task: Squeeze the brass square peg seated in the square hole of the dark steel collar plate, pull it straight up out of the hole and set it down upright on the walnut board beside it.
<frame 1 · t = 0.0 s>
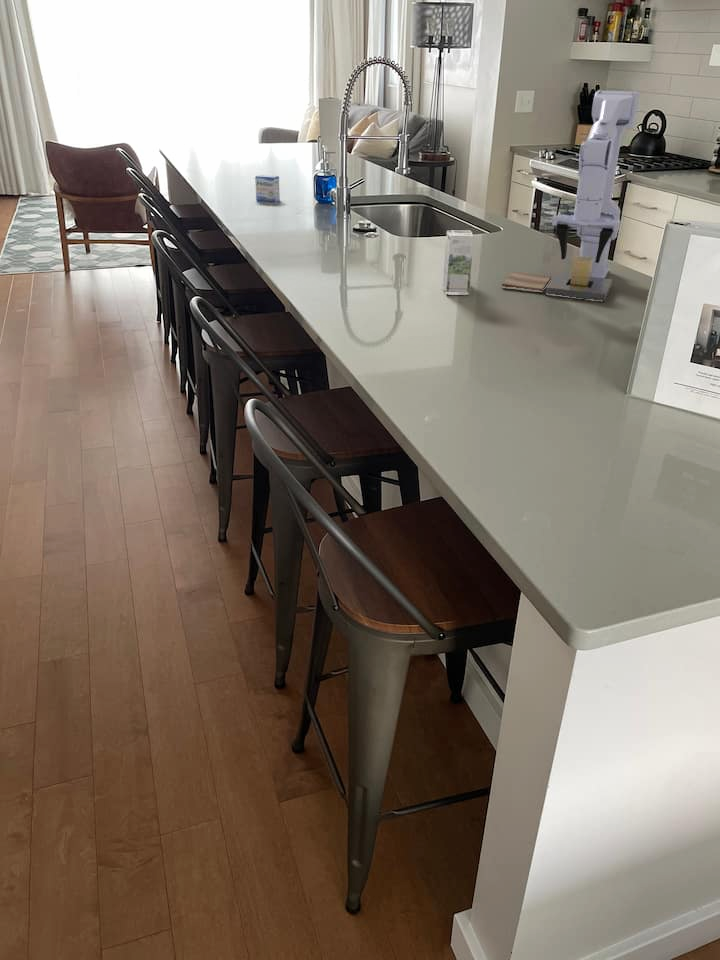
hand: (580, 260, 181), 10 cm above the counter, fingers open, 7 cm apart
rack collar: (578, 291, 194), on the counter
medicine box: (268, 201, 294), on the counter
brass peg: (581, 275, 192), in the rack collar
walnut board: (526, 284, 199), on the counter
syrup box: (455, 293, 192), on the counter
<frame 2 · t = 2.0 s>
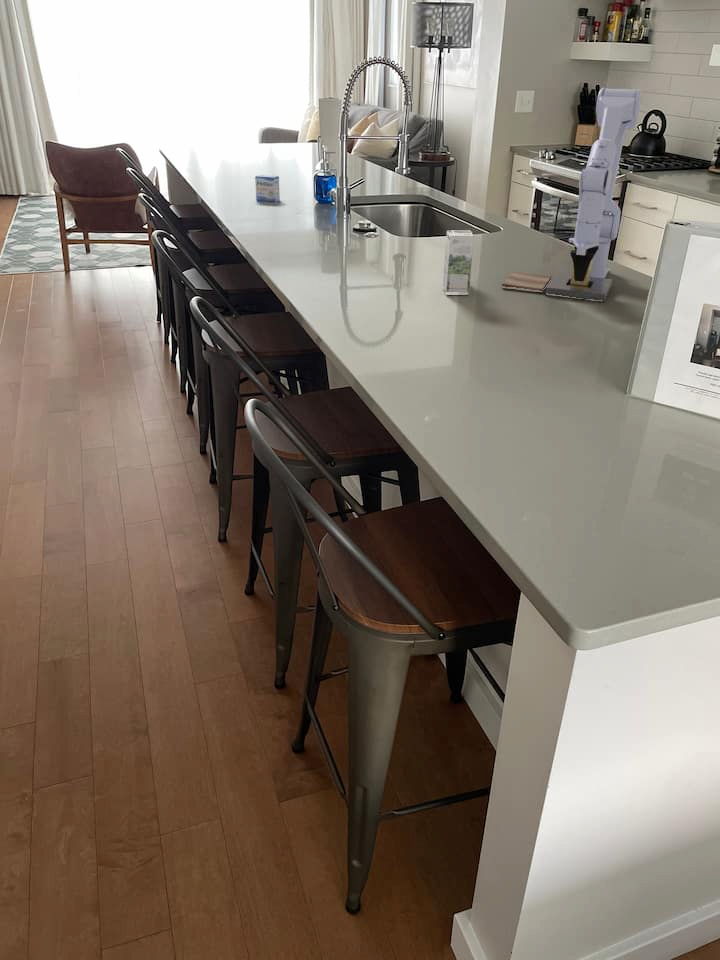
hand: (580, 278, 193), 3 cm above the counter, fingers closed on brass peg, 4 cm apart
brass peg: (581, 275, 192), in the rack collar, touching gripper
everything else where it was.
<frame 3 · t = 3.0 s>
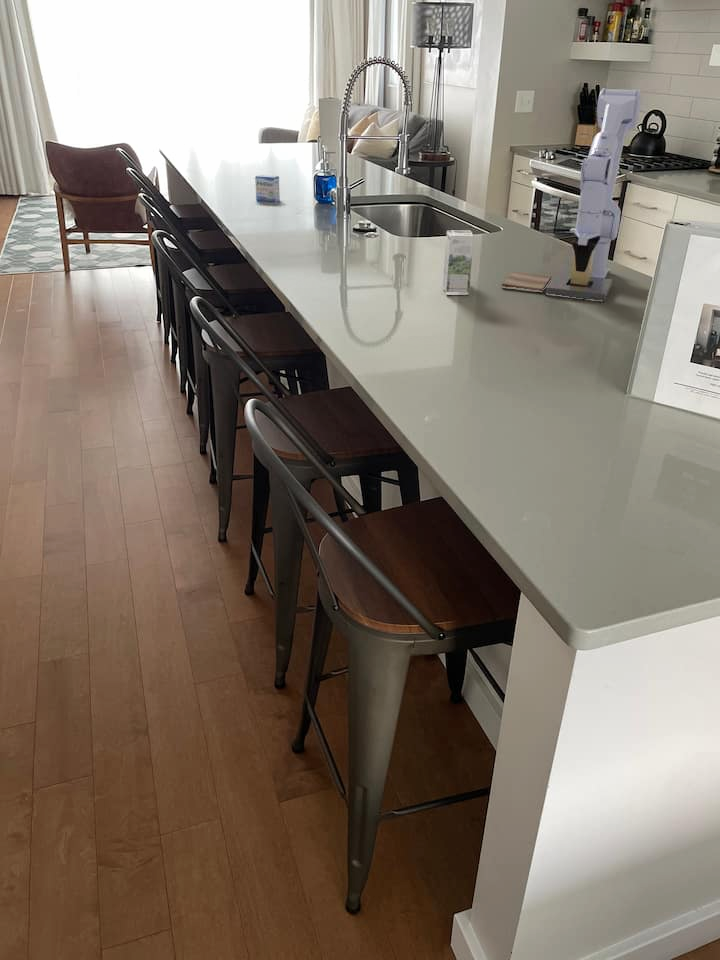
hand: (582, 269, 191), 6 cm above the counter, fingers closed on brass peg, 4 cm apart
brass peg: (582, 265, 191), point 6 cm above the counter, touching gripper
everything else where it was.
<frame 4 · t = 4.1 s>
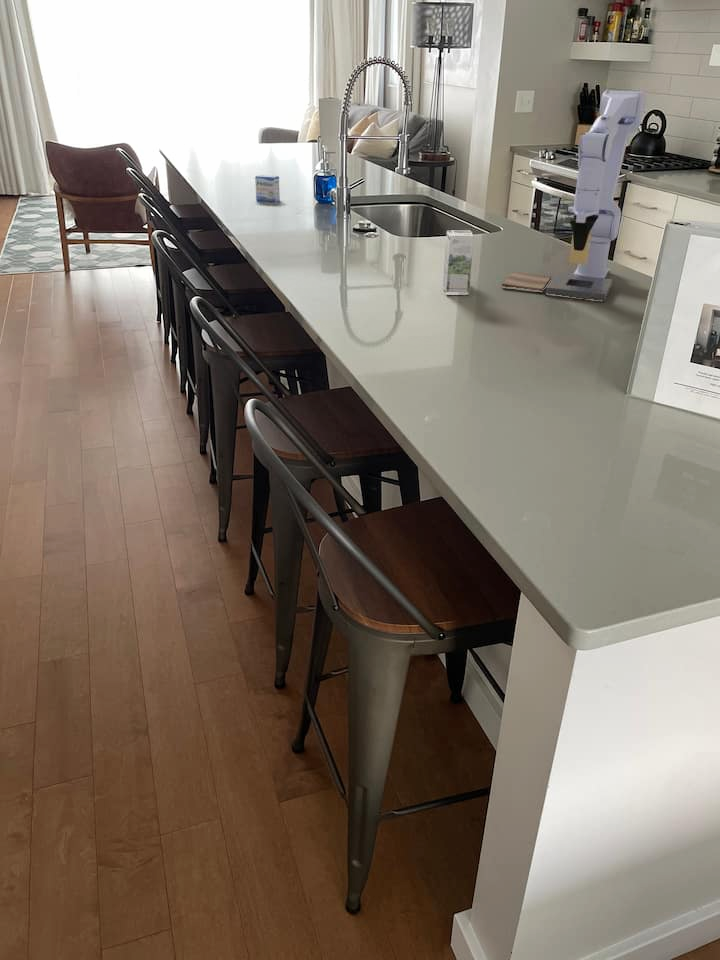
hand: (580, 248, 189), 10 cm above the counter, fingers closed on brass peg, 4 cm apart
brass peg: (580, 244, 189), point 11 cm above the counter, touching gripper
everything else where it was.
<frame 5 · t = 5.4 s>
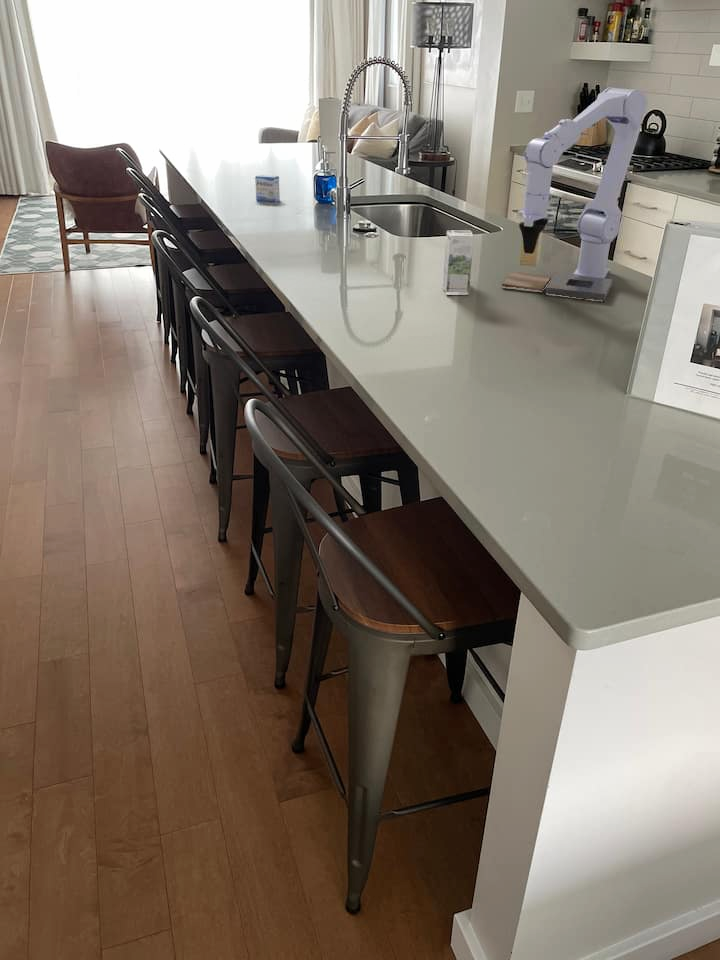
hand: (530, 251, 195), 8 cm above the counter, fingers closed on brass peg, 4 cm apart
brass peg: (531, 247, 194), point 9 cm above the counter, touching gripper
everything else where it was.
when the fingers open (5 cm above the counter, at t = 6.3 s): brass peg stays where it is, resting on walnut board.
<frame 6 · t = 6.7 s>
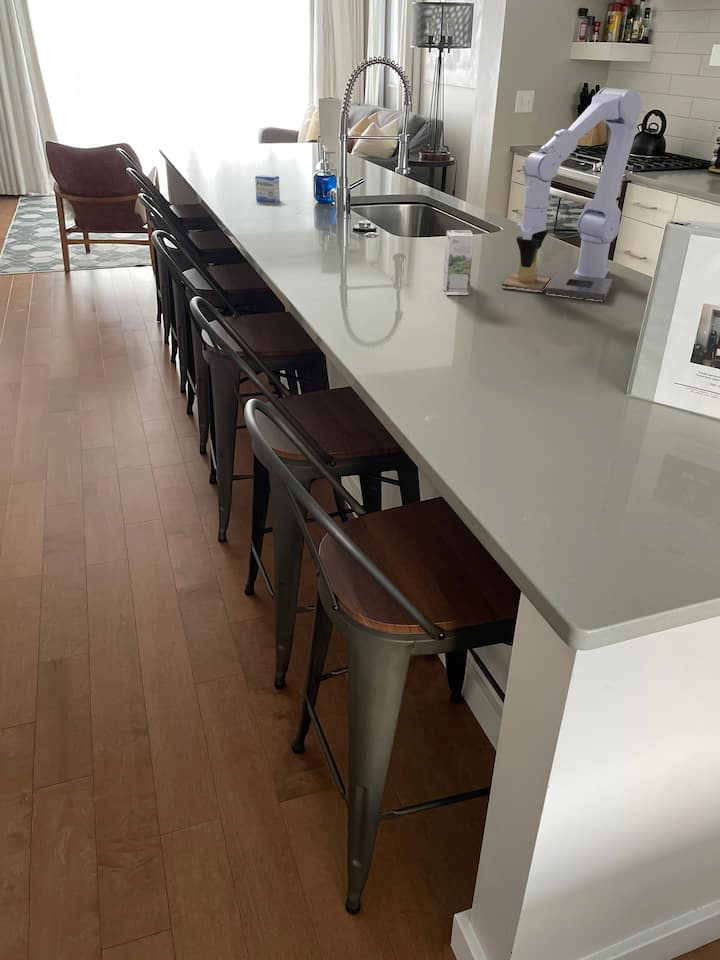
hand: (529, 263, 196), 5 cm above the counter, fingers open, 7 cm apart
brass peg: (529, 264, 196), on the walnut board, point 5 cm above the counter
everything else where it was.
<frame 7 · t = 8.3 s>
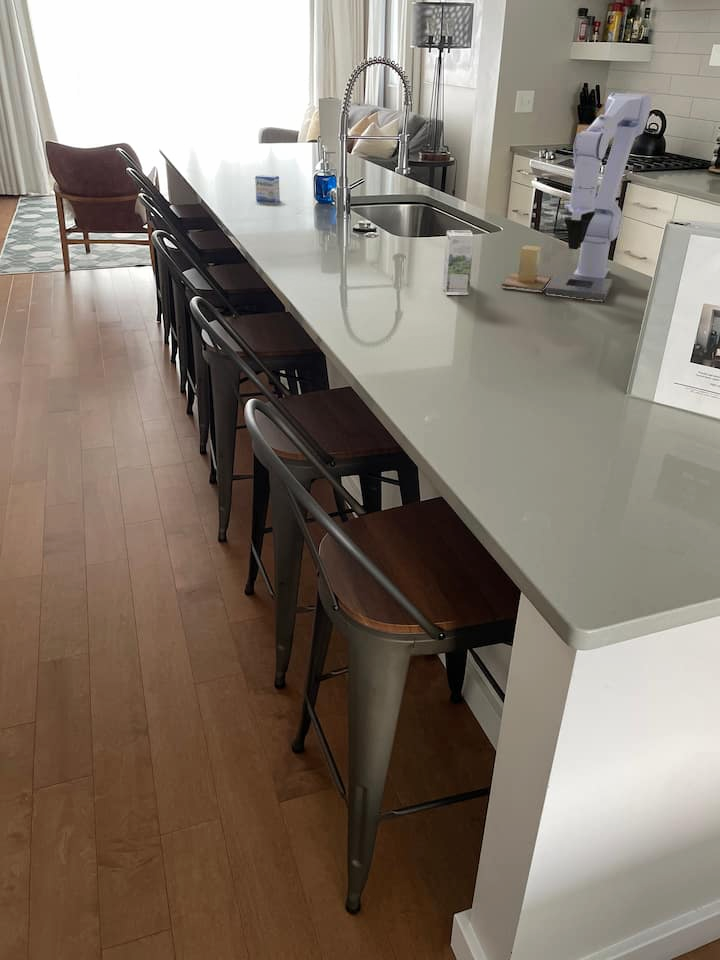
hand: (575, 245, 192), 10 cm above the counter, fingers open, 7 cm apart
nothing on the counter moved.
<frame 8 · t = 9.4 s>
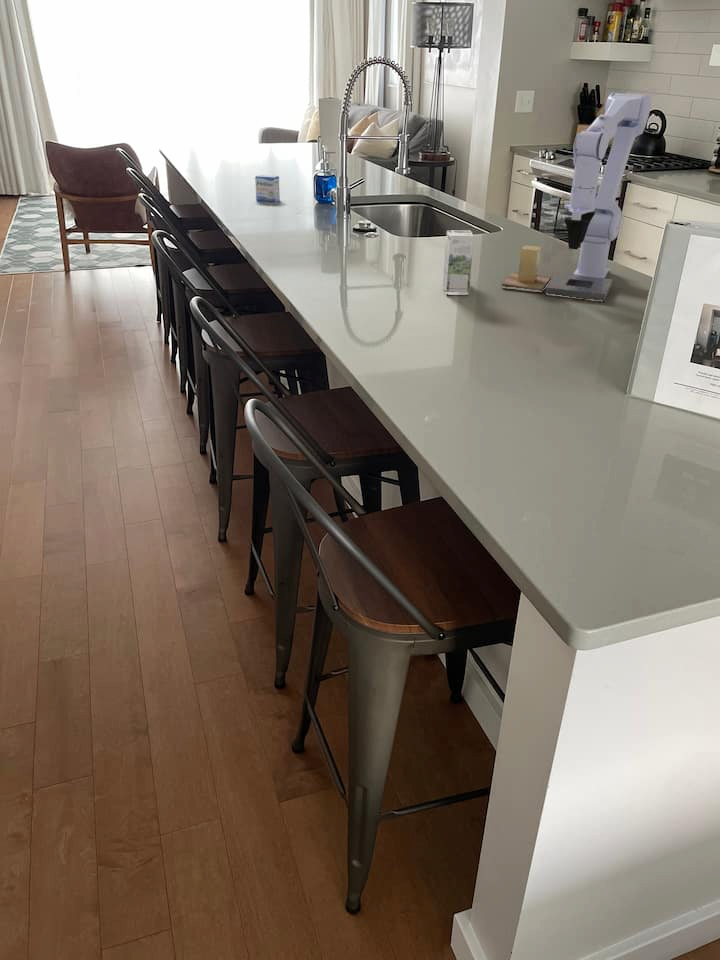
hand: (575, 245, 192), 10 cm above the counter, fingers open, 7 cm apart
nothing on the counter moved.
at the end: brass peg inside the target area on the walnut board (0.0 cm from its centre), point 5.2 cm above the walnut board's base; brass peg tilted 0°; the gripper is holding nothing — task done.
